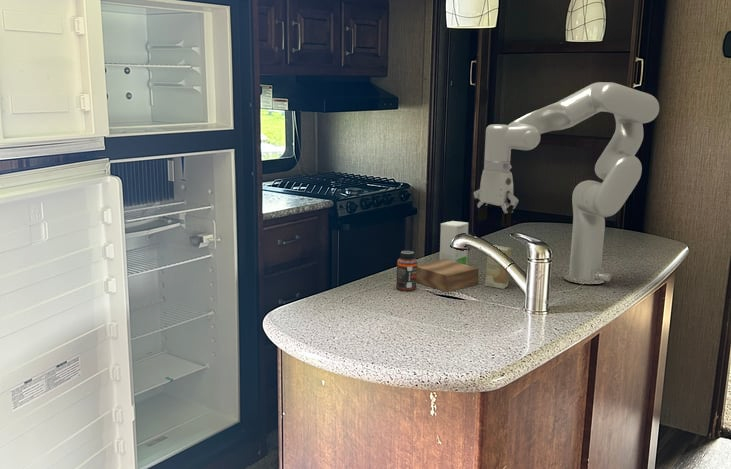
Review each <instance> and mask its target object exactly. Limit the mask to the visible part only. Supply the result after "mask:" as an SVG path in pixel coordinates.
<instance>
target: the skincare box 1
mask: <svg viewBox="0 0 731 469" xmlns="http://www.w3.org/2000/svg"><path fill="white" fill-rule="evenodd" d="M461 233H466V234H468V235H469V222H465V221H455V220H451V221H446V222H442V223H441V222H440V238H439V239H440V240H439V242H440V243H439V246H440V247H439V260H444V259H447V260H450V261H454V262H458V263H461V264H465V265H468V249H467V250H464V251H460V250H456V249H453V248H451V247H450V242H451V240H452V239H453V238H454V237H455V236H456V235H458V234H461Z"/></svg>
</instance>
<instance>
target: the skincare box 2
mask: <svg viewBox="0 0 731 469" xmlns="http://www.w3.org/2000/svg"><path fill="white" fill-rule="evenodd" d="M492 245H493V246H495V247H497V248H498V249H500V250H501V251H502V252H503V253H505V254H506V255H507V256H508V257H509V258H510V259H511V255H512V254H511V253H512V247H508V246H503V245H496V244H495V245H494V244H492ZM509 278H510V274H509V275H508V273H507V272H506V271H505V270H504V269H503V268H502V267H501V266H500V265H499V264H498V263H496V262H495V261H494V260H493V259H491V258H490V257H488V256H487V258H486V271H485V280H484V282H485V283H484V285H485V286H486V287H490V288H491V287H492V288H497V289H502V290H504V289H506V288H507V287H508V286H509V280H510V279H509Z"/></svg>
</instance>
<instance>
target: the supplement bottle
mask: <svg viewBox="0 0 731 469" xmlns="http://www.w3.org/2000/svg"><path fill="white" fill-rule="evenodd" d="M396 262H397V263H396V282H395V283H396V289H398V290H400V291H404V292H405V291H407V292H409V291H410V292H411V291H415V290H416V288H417V283H416V276H417V265H418V260H417V259H416V258H415V252H414V251H412V250H401V252H400V257H399V258H398V259H397V261H396Z"/></svg>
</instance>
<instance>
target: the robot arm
mask: <svg viewBox="0 0 731 469" xmlns="http://www.w3.org/2000/svg"><path fill="white" fill-rule="evenodd" d="M600 112H603V113H604V112H605V113H610V114H613V116H614V120H615V131H614V133H613V135H612V138H611V139H610V141H609V142H608V144H607V145H606V147H605V148H604V150H603V151H602V153H601V155H600V156H599V157H598V159H597V161H596V163H595V165H594V172H595V175H596V176H597V177H598V178H599V179H600V180H602V182H599V181H598V180H597V181H596V180H591V179H588V180H584V181H581V182H579V183H578V184H577V185H576V186H575V187H574V190H573V192H572V196H571V197H572V198H571V200H572V201H571V202H572V213H573V214H572V215H573V216H572V218H573V219H572V233H571V242H570V243H571V244H570V246H571V247H570V255H569V258H570V259H569V271H568V272H569V276H571V277H572V278H576V279H582V280H593V281H594V280H600V279H601V280H604V281H605V282H610V281H611V279H612V274H611V273H606V272H605V267H602V261H603V253H604V252H603V250H604V241H605V240H604V238H605V229H606V228H605V227H606V219H605V218H608V217H612V216H614V215H615V214H616V213H618V211H620V210H621V208H622V207H623V206H624V204H625V203H626V201H627V200H628V198H629V196H630V195H631V194H632V192H633V190H634V189H635V188H636V186H637V185H638V182H639V181H640V179H641V176H642V170H643V167H642V163H641V161H640V159H639V158H638V157H637V156H635V155H636V154H637V152H638V151H639V149H640V147H641V145H642V142H643V140H644V126H643V125H644V124H647V123H650V122H652V121H654V120H655V119H656V118H657V116H658V115H659V112H660V104H659V101H658V100H657V98H656V97H655V96H653V95H652V94H650V93H647V92H644V91H640V90H637V89H635V88H631V87H630V86H629V87H628V86H626V85H622V84H619V83H616V82H603V81H601V82H600V81H599V82H594V83H591V84H589V85H587V86H585V87H583V88H580V90H577V91H575V92H574V93H572V94H570V95H568V96H567V97H566V96H565V97H564V98H562V99H560V100H558V101H557V102H555V103H551V104H549V105H546V106H544V107H541V108H540V109H536V110H534V111H531V112H529V113H526V114H525V115H523V116H521V117H520V118H517V119H515V120H513V121H511V122H510V123H509V124H499V123H497V124H489V125H488V126H487V127H486V129H485V141H484V142H485V144H484V161H483V162H484V164H483V166H484V167H483V169H482V174H481V178H480V182H479V183H480V184H479V185H480V186H479V189H477V190H475V191H473V195H474V196H473V197H474V201H475V203H476V207H477V208H478V213H477V214H478V215H477V216H478V217H477V221H479V222H481V221H487V219H488V205H494V206H498V207H500V208H502V211H503V212H502V215H501V226H502V227H509V226H511V224H512V223H511V222H512V213H514V211H515V210H516V208H517V205H518V204H519V199H518V197H516V196H515V195H514V180H513V179H514V178H513V174H512V172H511V169H512V168H513V167H512V165H511V154H512V151H511V150H520V151H530V150H533V149H535V148H536V147H537V146H538V145H539V144H540V142H541V135H543V134H545V133H549V132H553V131H561V130H565V129H569V128H572V127H574V126H575V125H578V124H579V123H581V122H584V121H585V120H587V119H589V118H590V117H593V116H594V115H595V114H598V113H600Z"/></svg>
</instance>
